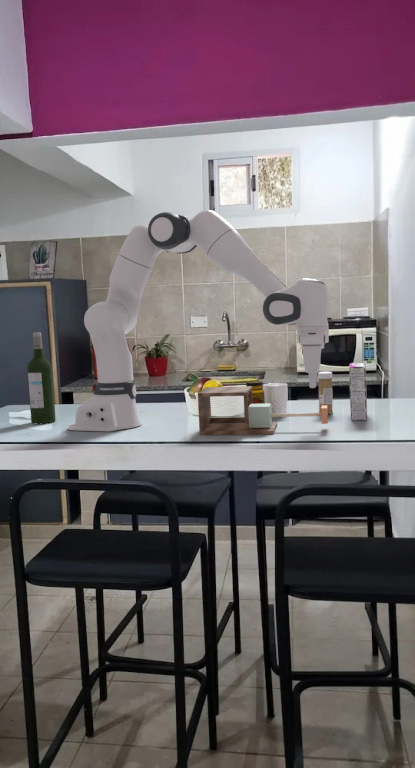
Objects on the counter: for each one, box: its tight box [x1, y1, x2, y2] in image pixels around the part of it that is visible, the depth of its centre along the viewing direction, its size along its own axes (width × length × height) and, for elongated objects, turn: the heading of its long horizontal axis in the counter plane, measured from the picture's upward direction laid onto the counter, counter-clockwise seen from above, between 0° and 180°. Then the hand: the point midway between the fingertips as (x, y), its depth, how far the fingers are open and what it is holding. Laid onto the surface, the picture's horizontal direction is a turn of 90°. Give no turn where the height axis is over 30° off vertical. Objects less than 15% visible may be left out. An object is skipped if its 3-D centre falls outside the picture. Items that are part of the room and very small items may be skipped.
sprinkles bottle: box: [317, 371, 334, 415], centre depth 224 cm, size 5×5×14 cm
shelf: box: [197, 386, 278, 436], centre depth 202 cm, size 21×13×12 cm, turn 80°
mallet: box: [248, 403, 329, 428], centre depth 200 cm, size 22×6×6 cm, turn 80°
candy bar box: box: [348, 362, 368, 421], centre depth 214 cm, size 11×5×16 cm, turn 168°
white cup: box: [263, 382, 288, 414], centre depth 226 cm, size 8×8×10 cm
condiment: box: [245, 380, 265, 417], centre depth 220 cm, size 7×8×12 cm
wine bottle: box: [26, 331, 56, 425], centre depth 232 cm, size 8×8×30 cm
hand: (313, 385), depth 197 cm, fingers open, 8 cm apart
